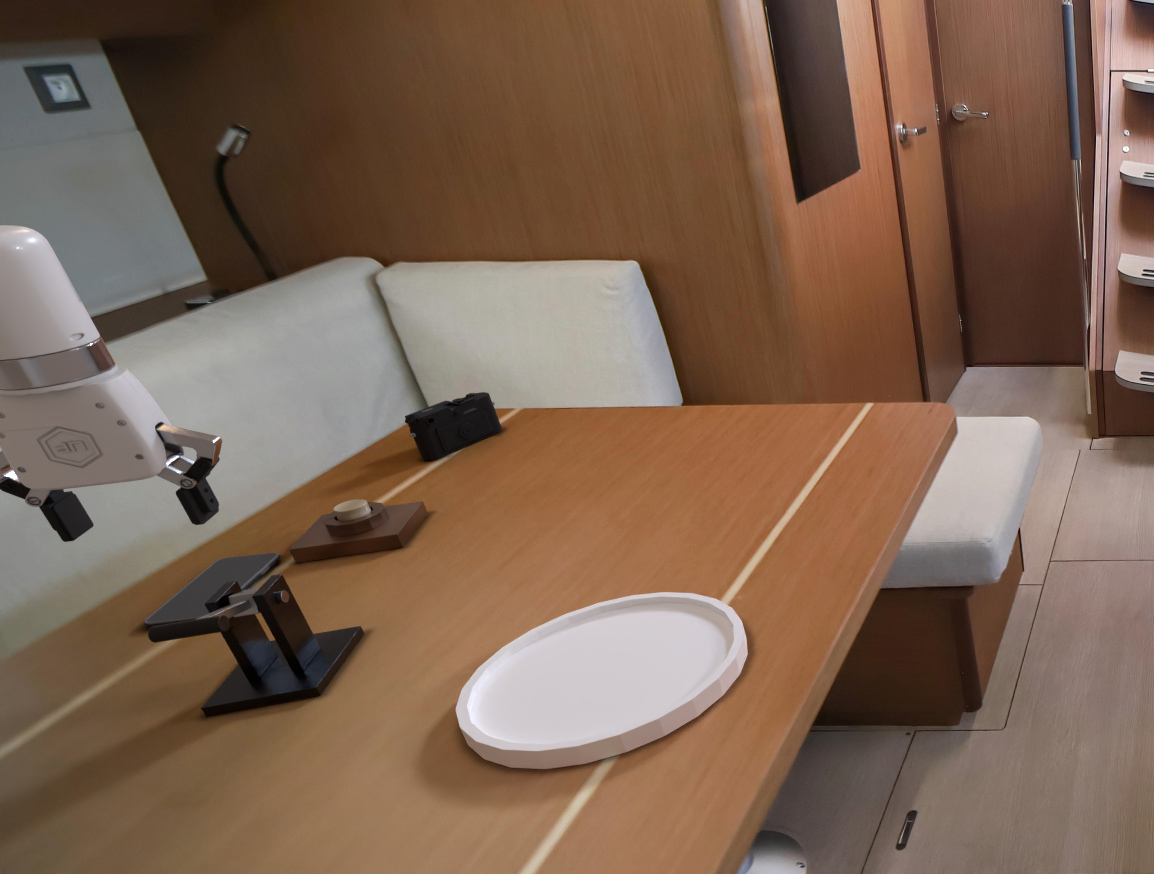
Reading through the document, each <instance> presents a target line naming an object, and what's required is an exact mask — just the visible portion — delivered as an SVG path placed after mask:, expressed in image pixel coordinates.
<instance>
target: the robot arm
mask: <svg viewBox="0 0 1154 874" xmlns="http://www.w3.org/2000/svg"><path fill="white" fill-rule="evenodd" d="M222 446H223V439H222V437H220V436H218V435H214V434H209V433H205V432H201V431H196V430H191V429H186V428H181V427H177V426H172V423H171V422H170V420H169V418H168V417H167V416H166V414H165V413H164V411H163V410H162V408H161V407H160V405H159V404H158V403H157V402H156V400H155V398H154V397H153V395H151V394H150V392H149V391H148V390H147V388H146V387H145V386H144V385H143V384H142V383H141V382H140V381H139V380H138V378H137V377H136V376H135V375H134V374H133V373H132V372H131V371H130V370H129V369H128V368H127V367H118V365H117V363H116V361H115V359H114V358H113V356H112V354H111V352H110V350H109V349H108V347H107V345H106V343H105V341H104V339H103V338H102V336H101V335H100V332H99V330H98V328H97V327H96V325H95V323H94V322H93V320H92V318H91V316H90V314H89V312H88V310H87V309H86V307H85V305H84V303H83V301H82V299H81V297H80V296H79V294H78V293H77V290H76V289H75V286H74V285H73V282H72V281H71V280H70V278H69V276H68V274H67V272H66V270H65V269H64V267H63V265H62V263H61V261H60V260H59V258H58V256H57V254H56V252H55V250H54V248H53V247H52V245H51V243H50V242H49V241H48V239H47V238H46V237H45V236H44V235H43V234H42V233H40V232H38V231H37V230H35V229H33V228H30V227H27V226H21V225H11V224H10V225H9V224H8V225H7V224H3V225H0V450H1V451H0V491H1V492H4V493H6V494H9V495H12V496H14V497H17V498H19V499H22V500H24V502H25V504H27V505H28V506H29V507H32V508H39V510H40V511H41V513H42V514H43V517H45V519H46V520H47V522H48V524H49V525H50V527H51V528H52V530H53V531H55V532H56V533H57V535H58V536H59V538H60V539H61V541H62V542H64V543H69V542H74V541H76V540H77V539H78V538H80V537H81V536H82V535H84V534H85V533H87V532H89V530H91V529H92V528H94V525H95V524H94V522H93V520H92V519H91V517H90V516H89V514H88V512H87V510H86V509H85V507H84V505H83V504H82V502H81V501H80V499H79V497H78V496H77V494H75V493H74V492H73V490H70V489H79V488H87V487H96V486H103V485H113V484H120V483H121V484H122V483H128V482H137V481H143V480H148V479H151V478H153V477H155V476H157V477H159V478H161V479H163V480H165V481H167V482H170V483H171V484H174V485H176V486H178V487H179V488H178V489H176V490H175V495H176V497H177V499H178V501H179V503H180V505H181V506H182V508H183V510H184V512H185V514H186V515H187V517H188V519H189V521H190V523H191V524H193V525H195V526H201V525H205V524H206V523H207V522H208V521H210V520H211V519H212V518H213V517H214V516H216V515H217V514H218V513H219V511H220V508H219V507H220V503H219V502H220V501H219V500H218V498H217V497H216V495H215V493H214V491H213V489H212V487H211V486H210V485H211V484H210V483H209V482H208V480H207V477H209V476H210V475H211V472H212V471H213V470H214V468H215V467H216V466H217V465H218V463H219V462H220V455H221V450H222ZM184 448H190V449H193V450H194V451H195V452H196V459H195V460H193V459H191V458H189V457H186V456H184V455H185V450H184ZM68 489H69V491H64V490H68Z"/></svg>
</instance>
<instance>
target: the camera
mask: <svg viewBox="0 0 1154 874" xmlns="http://www.w3.org/2000/svg"><path fill="white" fill-rule="evenodd" d="M404 418H405V419H404V423H405V424H406V425H408V428H409V432H410V434H409V437H410V438H413V439H414V440H413V441H414V442H415V445H416V447H417V450H418V452H419V456H420V458H421V459H422V460H424V461H436V460H439V459H441V458H443V457H446V456H448V455H450V454H452V453H455V452H457V451H459V450H461V449H464V448H467V447H469V446H471V445H473V444H475V443H478V442H481V441H483V440H486V439H487V438H490V437H493V436H494V435H496V434H499V433H500V432H502V430H503V428H502V425H501V422H500V419H499V416H498V414H497V411H496V408H495V402H494V401H492V398H491V395H490V393H489V392H485V391H481V392H469V393H467V394H465V396H463V397H458V398H454V399H452V400H443V401H440V402H438V403H436V404H433V405H430V406H428V407H425V408H422V409H420V410H417V411H414V412H412V413H409V414H406V415H404Z"/></svg>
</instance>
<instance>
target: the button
mask: <svg viewBox="0 0 1154 874" xmlns="http://www.w3.org/2000/svg"><path fill="white" fill-rule="evenodd" d="M367 502H368V501H367V500H366V499H365V498H364V499H362V498H356V499H351V500H350V499H349V500H347V501H343V502H341V503H339V504H337V505H336V506H334V507H333V509H332V510H333V512H335V514H336V517H337V519H338V520H339V521H347V520H354V519H357V518H361V517H363V516H365V515H367V514H369V513H371V509H370V507H369V505H368V503H367Z"/></svg>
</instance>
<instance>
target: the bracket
mask: <svg viewBox="0 0 1154 874" xmlns="http://www.w3.org/2000/svg"><path fill="white" fill-rule="evenodd" d="M258 588H259V589H258V590H257V591H256V593H255V594H254V595H253V596H252V598H253V600H254V602H255V603H256V605H257V607H258V609H259V611H260V613H259V614H260V615H261V616H262V618H263V620H264V623H265V624H266V626H267V628H268V629H269V631H270V633H271V635H272V637H273V639H274V640H270V639H269V637H268V635H267V633H266V631H265V629H264V628H263V626H262V624H261V622H260V620H259V619H258V617H257V614H252V615H246V616H240V617H234V616H233V617H230V618H228V619H229V621H230V627H229V629H228V630H227V631H224V632H220V634H221V636H222V638H223V640H224V641H225V643H226V645H227V646H228V648H229V650H230V652H231V653H232V656H233V657H234V659H235V661H236V662H237V666H236V667H235V668H234V669H233V670H232V671H231V672H230V673H229V675H228V676H227V677H226V678H225V679H224V681H223V682H222V683H221V684H220V685H219V686H218V687H217V689H216V690H215V691H214V692H213V693H212V695H210V697H209V698H208V699H207V700H206V701H205V702H204V703H203V705H202V706H201V707H200V711H202V713H203V715H204V716H205V717H210V716H211V717H212V716H216V715H222V714H227V713H228V714H229V713H232V712H238V711H243V710H248V709H254V708H259V707H260V708H261V707H265V706H271V705H277V704H281V703H286V702H292V701H298V700H303V699H309V698H313V697H314V698H315V697H320V696H321V695H322V694H323V693H324V691H325V690H326V689H327V687H328V686H329V684H330V683H331V681H332V680H333V679H334V677H335V676H336V675H337V673H338V672H339V670H340V669H341V667H342V666H343V665H344V663H345V662H346V660H347V659H348V657H349V656H350V655H351V653H352V652H353V651H354V650H355V648H356V647H357V645H358V644H359V642H360V641H361V639H362V638H363V637H364V635H365V631H364V629H363V627H362V625H358V626H357V625H356V626H352V627H346V628H339V629H334V630H327V631H321V632H315V633H314V632H313V631H312V629H311V627H310V625H309V622H308V621H307V619H306V617H305V615H304V613H303V612H302V610H301V607H300V606H299V603H298V602H297V600H296V598H295V596H294V594H293V592H292V590H291V588H290V587H289V584H288V582H287V580H286V579H285V576H284V574H283V573H278V574H272V575H270V577H268V578H267V580H266V581H265V582H264V583H263V584H262V585H261V586H260V587H258ZM241 591H242V589H241V587H240V586H239V584H238V582H237V581H231V582H226V583H225V584H224V585H223V586H222V587H221V588H220V589H219V590H218V591H217V592H216V593H215V594H214V595H213V596H212V597H211V598H210V599H209V600H208V601H207V602H206V603H205V604H204V605H205V606H206V608H207V610H208V612H209V613H211V612H214V611H216V610H218V609H221V608H223V607H225V606H228V605H230V602H229V599H228V597H229V596H231V595H234V594H236V593H238V592H241Z"/></svg>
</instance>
